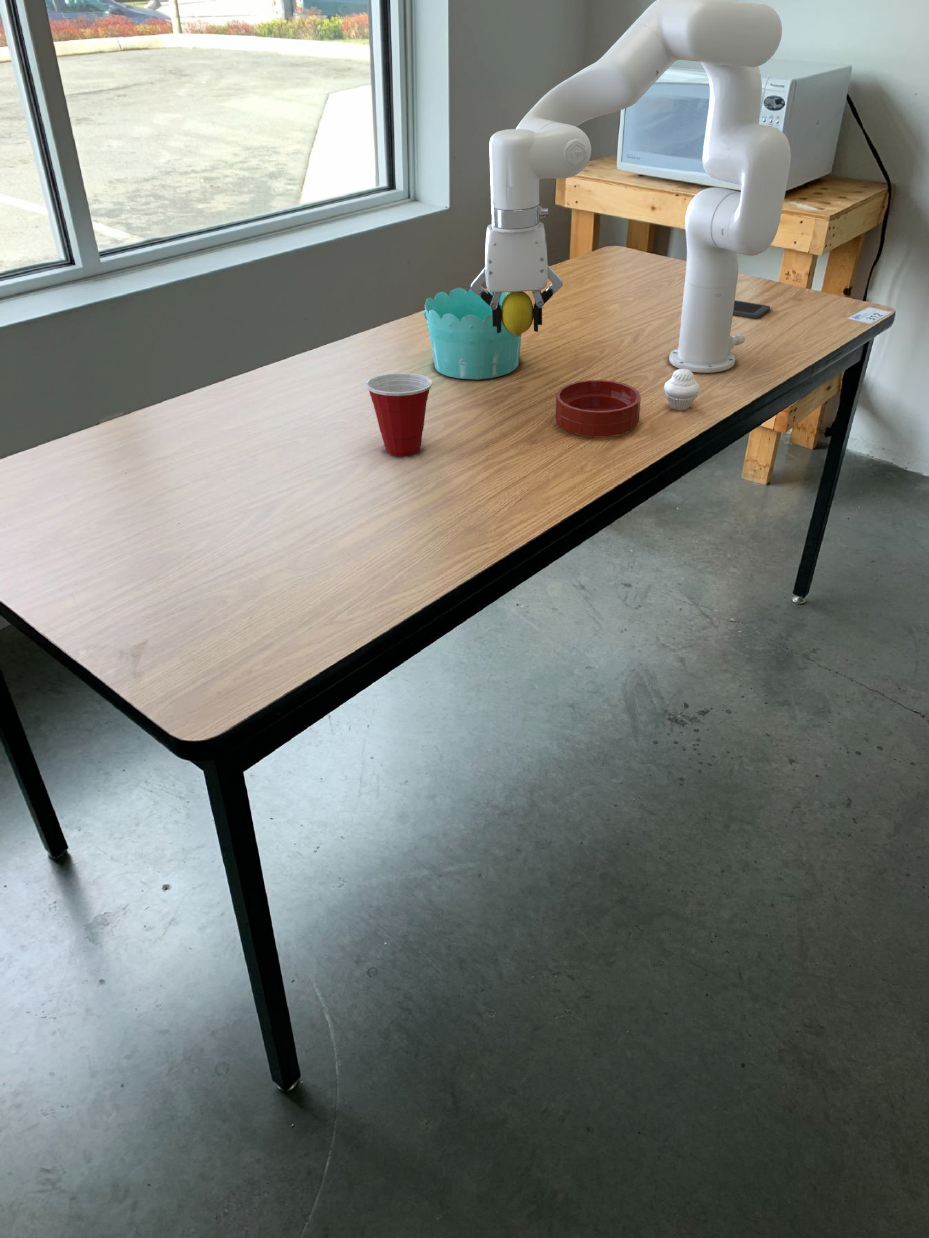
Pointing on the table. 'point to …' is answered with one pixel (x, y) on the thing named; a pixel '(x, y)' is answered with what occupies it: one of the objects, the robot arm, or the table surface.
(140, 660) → the table surface
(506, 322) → the lemon
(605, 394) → the bowl
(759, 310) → the cell phone
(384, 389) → the plastic cup
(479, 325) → the basket
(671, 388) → the muffin
